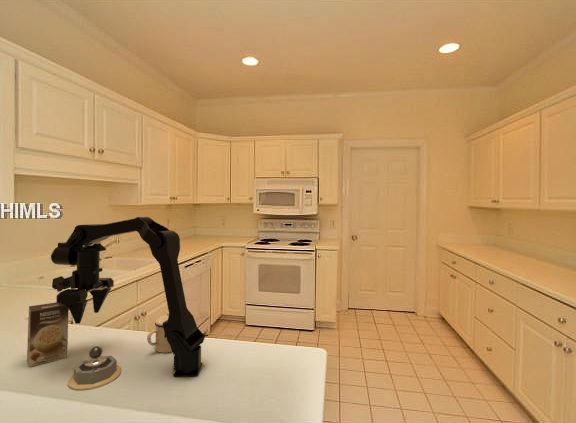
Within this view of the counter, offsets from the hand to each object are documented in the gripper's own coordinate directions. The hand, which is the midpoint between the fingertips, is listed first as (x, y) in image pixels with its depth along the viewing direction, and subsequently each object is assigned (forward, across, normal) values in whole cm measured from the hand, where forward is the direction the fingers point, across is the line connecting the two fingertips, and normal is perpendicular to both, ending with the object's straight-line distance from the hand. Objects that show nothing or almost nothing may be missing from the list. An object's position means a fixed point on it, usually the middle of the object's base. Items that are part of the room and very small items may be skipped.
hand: (87, 317), depth 89 cm
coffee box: (+13, -1, -12) cm, 18 cm away
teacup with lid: (+13, -6, +21) cm, 25 cm away
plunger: (+11, +10, +8) cm, 17 cm away
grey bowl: (+12, +10, +8) cm, 18 cm away
